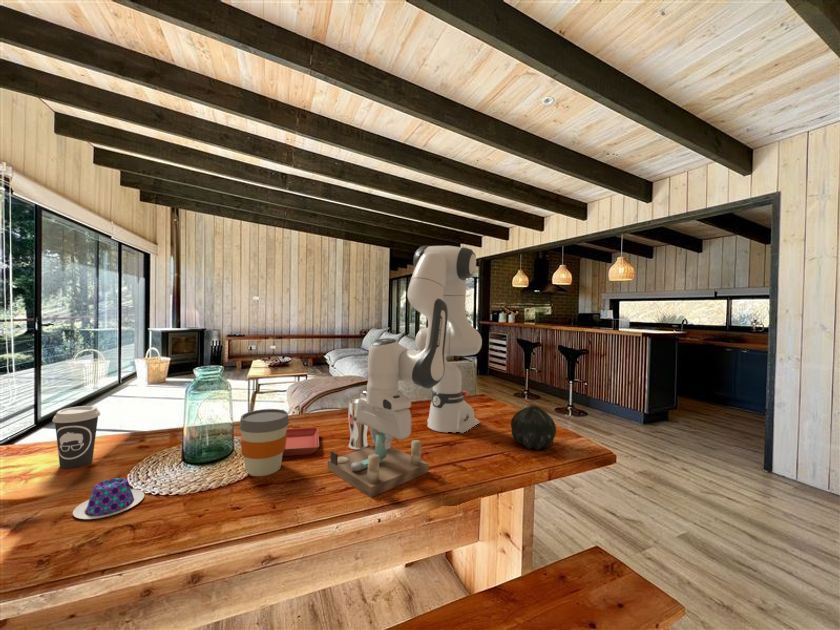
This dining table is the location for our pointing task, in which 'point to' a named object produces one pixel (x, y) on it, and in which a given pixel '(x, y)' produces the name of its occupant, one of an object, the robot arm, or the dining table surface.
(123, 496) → the purple patterned hat
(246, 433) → the reusable coffee cup
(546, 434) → the squash
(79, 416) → the coffee cup
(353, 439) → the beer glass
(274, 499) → the dining table surface
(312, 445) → the plant saucer
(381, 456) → the folding leg
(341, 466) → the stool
